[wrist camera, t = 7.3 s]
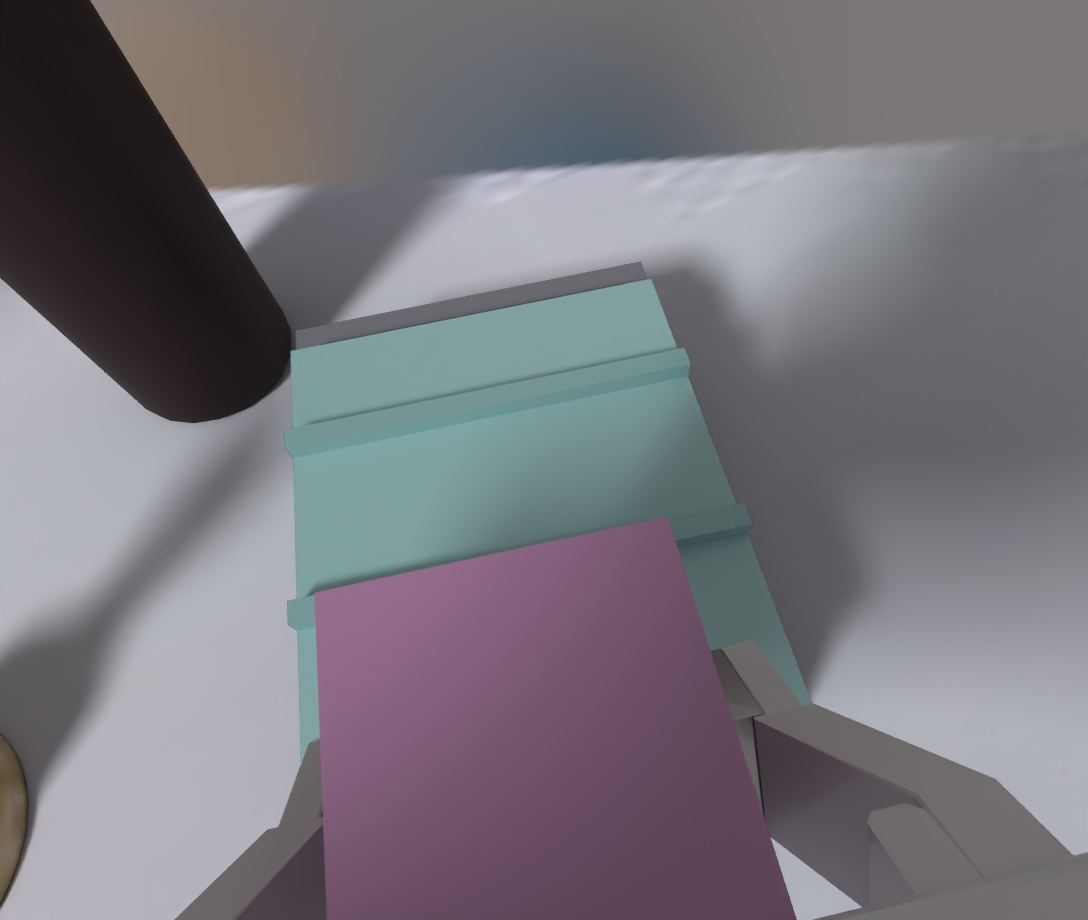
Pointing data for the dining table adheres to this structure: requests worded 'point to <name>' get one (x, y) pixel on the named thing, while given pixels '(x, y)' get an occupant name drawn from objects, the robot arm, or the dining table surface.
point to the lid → (526, 622)
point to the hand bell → (11, 813)
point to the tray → (469, 305)
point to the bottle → (122, 225)
